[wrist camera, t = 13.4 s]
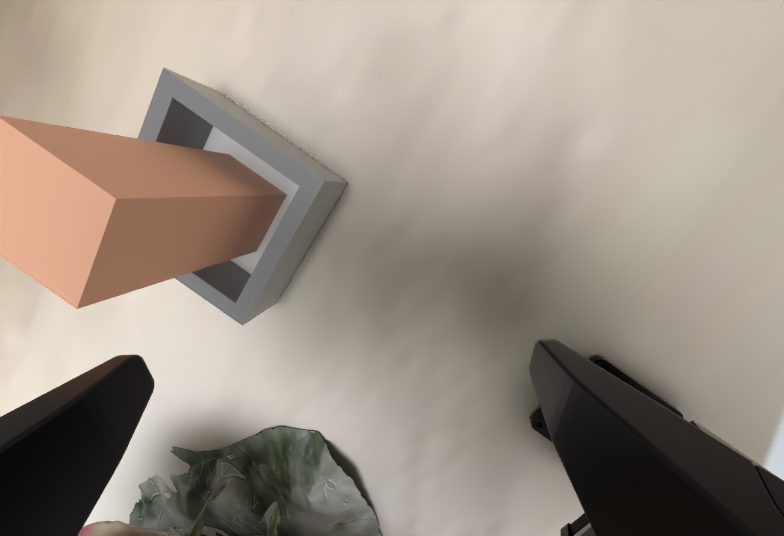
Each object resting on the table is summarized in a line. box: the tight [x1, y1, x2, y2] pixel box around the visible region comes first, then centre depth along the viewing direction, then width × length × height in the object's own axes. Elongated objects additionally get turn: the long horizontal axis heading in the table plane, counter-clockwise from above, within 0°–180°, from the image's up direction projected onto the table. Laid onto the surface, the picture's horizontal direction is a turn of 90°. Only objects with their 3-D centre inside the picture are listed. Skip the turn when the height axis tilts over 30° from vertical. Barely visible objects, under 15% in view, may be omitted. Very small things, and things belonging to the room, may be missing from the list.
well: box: [138, 68, 348, 325], centre depth 20 cm, size 10×10×4 cm
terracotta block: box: [0, 116, 287, 309], centre depth 16 cm, size 4×4×11 cm
